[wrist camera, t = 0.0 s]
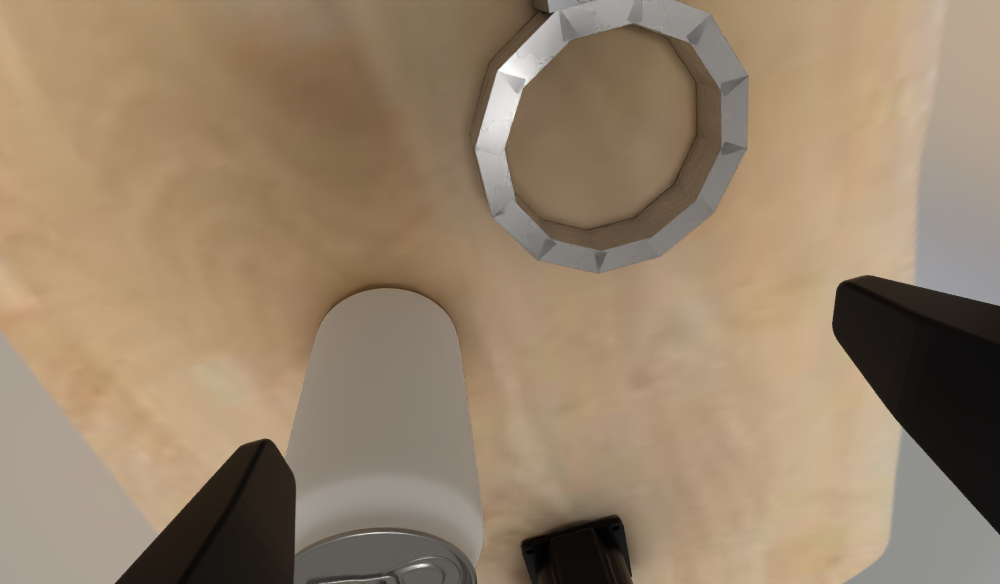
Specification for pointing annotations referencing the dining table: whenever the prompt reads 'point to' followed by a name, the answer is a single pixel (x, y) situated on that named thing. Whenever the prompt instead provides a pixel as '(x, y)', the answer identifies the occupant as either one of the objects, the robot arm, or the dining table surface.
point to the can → (385, 449)
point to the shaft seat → (705, 174)
